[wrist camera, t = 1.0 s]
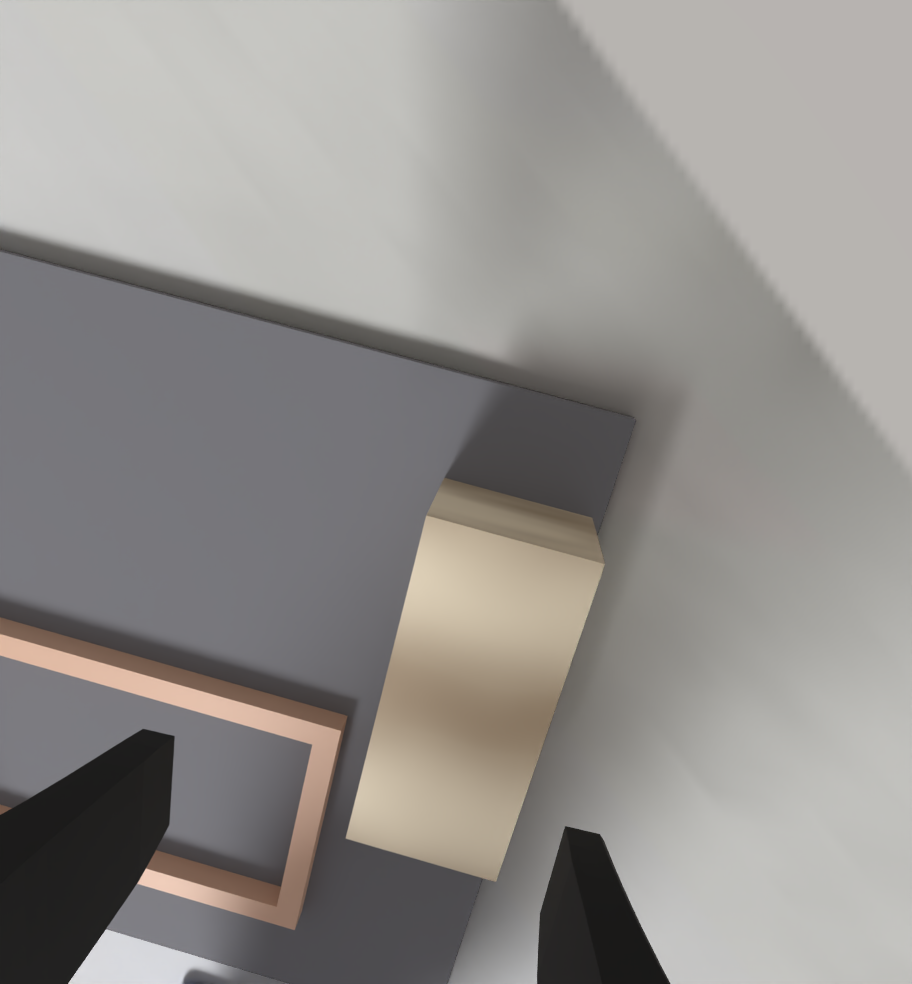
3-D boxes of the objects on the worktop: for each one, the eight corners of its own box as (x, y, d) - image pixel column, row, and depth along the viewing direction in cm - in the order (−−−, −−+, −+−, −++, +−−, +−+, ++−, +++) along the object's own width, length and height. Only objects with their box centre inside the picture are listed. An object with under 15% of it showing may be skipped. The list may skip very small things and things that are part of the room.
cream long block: (501, 794, 22) (495, 882, 19) (373, 757, 22) (345, 838, 19) (592, 517, 19) (604, 564, 16) (444, 477, 19) (426, 515, 16)
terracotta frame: (302, 910, 25) (294, 930, 24) (-62, 803, 25) (-80, 819, 24) (347, 715, 22) (340, 731, 21) (-58, 600, 22) (-79, 611, 22)
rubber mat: (434, 1013, 26) (432, 1026, 26) (-54, 868, 27) (-64, 878, 26) (633, 417, 19) (636, 420, 18) (-39, 238, 20) (-53, 237, 19)
